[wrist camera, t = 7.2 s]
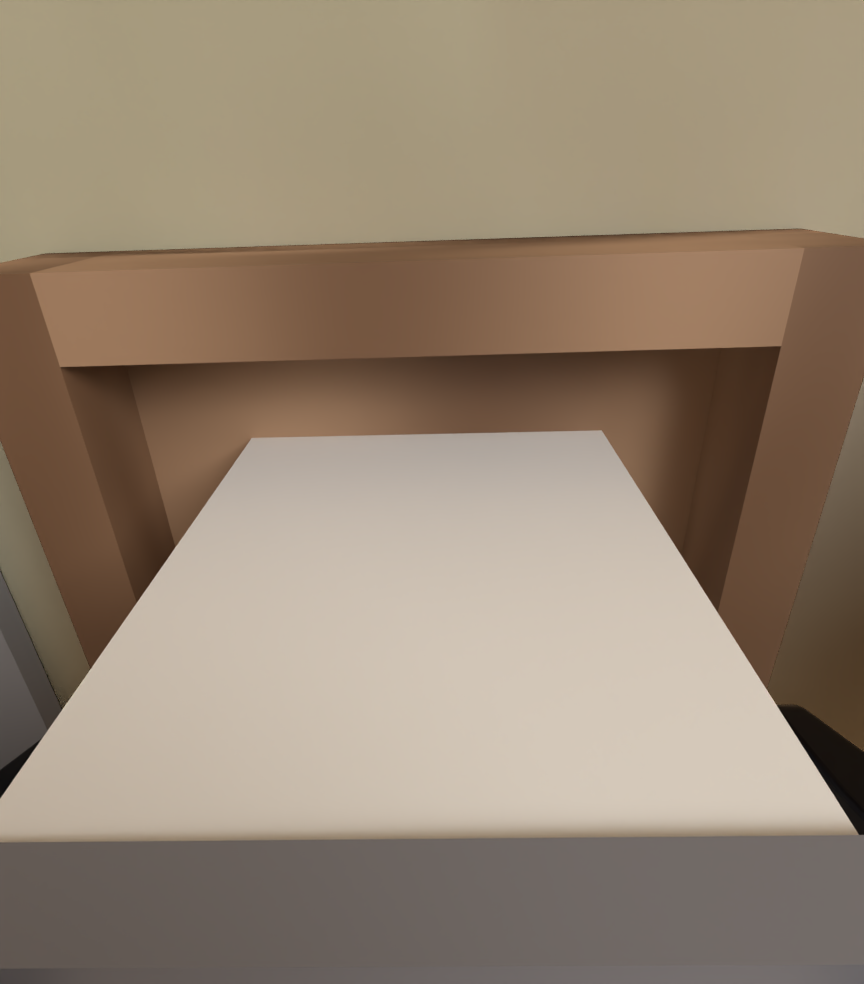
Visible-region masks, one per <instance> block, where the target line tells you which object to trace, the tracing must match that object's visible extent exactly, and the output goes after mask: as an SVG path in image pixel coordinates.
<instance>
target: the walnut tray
mask: <svg viewBox="0 0 864 984" xmlns="http://www.w3.org/2000/svg"><path fill="white" fill-rule="evenodd" d="M863 378H864V238H857V237H851V236H844V235H838V234H831V233H825V232H819V231H812V230H806V229H773V230H743V231H713V232H682V233H652V234H622V235H592V236H562V237H532V238H501V239H471V240H441V241H411V242H381V243H351V244H321V245H290V246H260V247H230V248H200V249H170V250H140V251H109V252H79V253H49V254H41V255H36V256H31V257H26V258H22V259H17V260H12V261H7V262H2V263H0V441H1V443H2V446H3V448H4V451H5V453H6V456H7V458H8V461H9V463H10V466H11V469H12V471H13V474H14V476H15V479H16V481H17V484H18V486H19V489H20V491H21V494H22V496H23V499H24V501H25V504H26V507H27V509H28V512H29V514H30V517H31V519H32V522H33V524H34V527H35V529H36V532H37V534H38V537H39V539H40V542H41V545H42V547H43V550H44V552H45V555H46V557H47V560H48V562H49V565H50V567H51V570H52V572H53V575H54V578H55V580H56V583H57V585H58V588H59V590H60V593H61V595H62V598H63V600H64V603H65V605H66V608H67V610H68V613H69V616H70V618H71V621H72V623H73V626H74V628H75V631H76V633H77V636H78V638H79V641H80V643H81V646H82V649H83V651H84V654H85V656H86V659H87V661H88V664H89V666H90V669H91V668H92V666H93V665H94V664H95V662H96V661H97V659H98V658H99V656H100V655H101V654H102V652H103V651H104V649H105V648H106V646H107V645H108V644H109V642H110V641H111V639H112V638H113V636H114V635H115V633H116V632H117V631H118V629H119V628H120V626H121V625H122V623H123V622H124V621H125V619H126V618H127V616H128V615H129V613H130V612H131V611H132V609H133V608H134V606H135V605H136V603H137V602H138V600H139V599H140V598H141V596H142V595H143V593H144V592H145V590H146V589H147V588H148V586H149V585H150V583H151V582H152V580H153V579H154V578H155V576H156V575H157V573H158V572H159V570H160V569H161V568H162V566H163V565H164V563H165V562H166V560H167V559H168V557H169V556H170V555H171V553H172V552H173V550H174V549H175V547H176V546H177V545H178V543H179V542H180V540H181V539H182V537H183V536H184V535H185V533H186V532H187V530H188V529H189V527H190V526H191V525H192V523H193V522H194V520H195V519H196V517H197V516H198V514H199V513H200V512H201V510H202V509H203V507H204V506H205V504H206V503H207V502H208V500H209V499H210V497H211V496H212V494H213V493H214V492H215V490H216V489H217V487H218V486H219V484H220V483H221V481H222V480H223V479H224V477H225V476H226V474H227V473H228V471H229V470H230V469H231V467H232V466H233V464H234V463H235V461H236V460H237V459H238V457H239V456H240V454H241V453H242V451H243V450H244V449H245V447H246V446H247V444H248V443H249V441H250V440H251V438H271V437H318V436H365V435H412V434H458V433H505V432H552V431H598V430H602V432H603V433H604V435H605V436H606V438H607V440H608V441H609V443H610V444H611V446H612V447H613V449H614V451H615V452H616V454H617V455H618V457H619V458H620V460H621V462H622V463H623V465H624V466H625V468H626V469H627V471H628V473H629V474H630V476H631V477H632V479H633V480H634V482H635V484H636V485H637V487H638V488H639V490H640V491H641V493H642V495H643V496H644V498H645V499H646V501H647V502H648V504H649V506H650V507H651V509H652V510H653V512H654V513H655V515H656V517H657V518H658V520H659V521H660V523H661V524H662V526H663V528H664V529H665V531H666V532H667V534H668V535H669V537H670V539H671V540H672V542H673V543H674V545H675V546H676V548H677V550H678V551H679V553H680V554H681V556H682V557H683V559H684V561H685V562H686V564H687V565H688V567H689V568H690V570H691V572H692V573H693V575H694V576H695V578H696V579H697V581H698V583H699V584H700V586H701V587H702V589H703V590H704V592H705V594H706V595H707V597H708V598H709V600H710V601H711V603H712V605H713V606H714V608H715V609H716V611H717V612H718V614H719V616H720V617H721V619H722V620H723V622H724V623H725V625H726V627H727V628H728V630H729V631H730V633H731V634H732V636H733V638H734V639H735V641H736V642H737V644H738V645H739V647H740V649H741V650H742V652H743V653H744V655H745V656H746V658H747V660H748V661H749V663H750V664H751V666H752V667H753V669H754V671H755V672H756V674H757V675H758V677H759V678H760V680H761V682H762V683H763V685H764V686H765V688H766V690H767V687H768V684H769V681H770V678H771V674H772V671H773V668H774V665H775V661H776V658H777V655H778V652H779V649H780V645H781V642H782V639H783V636H784V632H785V629H786V626H787V623H788V620H789V616H790V613H791V610H792V607H793V603H794V600H795V597H796V594H797V590H798V587H799V584H800V581H801V578H802V574H803V571H804V568H805V565H806V561H807V558H808V555H809V552H810V549H811V545H812V542H813V539H814V536H815V532H816V529H817V526H818V523H819V519H820V516H821V513H822V510H823V507H824V503H825V500H826V497H827V494H828V490H829V487H830V484H831V481H832V478H833V474H834V471H835V468H836V465H837V461H838V458H839V455H840V452H841V449H842V445H843V442H844V439H845V436H846V432H847V429H848V426H849V423H850V419H851V416H852V413H853V410H854V407H855V403H856V400H857V397H858V394H859V390H860V387H861V384H862V381H863Z"/></svg>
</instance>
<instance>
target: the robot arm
mask: <svg viewBox="0 0 864 984" xmlns="http://www.w3.org/2000/svg"><path fill="white" fill-rule="evenodd" d="M777 707H778V708H779V710H780V712H781V713H782V715H783V716H784V718H785V719H786V721H787V723H788V724H789V726H790V727H791V729H792V730H793V732H794V734H795V735H796V737H797V738H798V740H799V741H800V743H801V745H802V746H803V748H804V749H805V751H806V752H807V754H808V756H809V757H810V759H811V760H812V762H813V763H814V765H815V767H816V768H817V770H818V771H819V773H820V774H821V776H822V778H823V779H824V781H825V782H826V784H827V785H828V787H829V789H830V790H831V792H832V793H833V795H834V796H835V798H836V800H837V801H838V803H839V804H840V806H841V807H842V809H843V811H844V812H845V814H846V815H847V817H848V818H849V820H850V822H851V823H852V825H853V826H854V828H855V829H856V831H857V833H858V834H859V835H864V752H863V751H862V750H860V749H859V748H858V747H856V746H855V745H854V744H852V743H851V742H850V741H848V740H847V739H845V738H844V737H843V736H841V735H840V734H839V733H837V732H836V731H835V730H833V729H832V728H830V727H829V726H828V725H826V724H825V723H824V722H822V721H821V720H819V719H818V718H817V717H815V716H814V715H813V714H811V713H810V712H809V711H807V710H806V709H804V708H802V707H800V706H798V705H777ZM41 740H42V738H41V739H40V740H39V741H37V742H36V743H35V744H33V745H32V746H31V747H29V748H28V749H27V750H25V751H24V752H23V753H21V754H20V755H19V756H17V757H16V758H15V759H13V760H12V761H11V762H9V763H8V764H7V765H5V766H4V767H3V768H1V769H0V798H1V797H2V795H3V794H4V793H5V791H6V790H7V788H8V787H9V785H10V784H11V783H12V781H13V780H14V778H15V777H16V775H17V774H18V773H19V771H20V770H21V768H22V767H23V765H24V764H25V763H26V761H27V760H28V758H29V757H30V755H31V754H32V752H33V751H34V750H35V748H36V747H37V745H38V744H39V742H40V741H41Z"/></svg>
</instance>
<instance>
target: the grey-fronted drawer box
mask: <svg viewBox="0 0 864 984" xmlns="http://www.w3.org/2000/svg"><path fill="white" fill-rule="evenodd" d="M0 984H864V835H859V834H858V833H857V831H856V829H855V828H854V826H853V825H852V823H851V822H850V820H849V818H848V817H847V815H846V814H845V812H844V811H843V809H842V807H841V806H840V804H839V803H838V801H837V800H836V798H835V796H834V795H833V793H832V792H831V790H830V789H829V787H828V785H827V784H826V782H825V781H824V779H823V778H822V776H821V774H820V773H819V771H818V770H817V768H816V767H815V765H814V763H813V762H812V760H811V759H810V757H809V756H808V754H807V752H806V751H805V749H804V748H803V746H802V745H801V743H800V741H799V740H798V738H797V737H796V735H795V734H794V732H793V730H792V729H791V727H790V726H789V724H788V723H787V721H786V719H785V718H784V716H783V715H782V713H781V712H780V710H779V708H778V707H777V705H776V704H775V702H774V701H773V699H772V697H771V696H770V694H769V693H768V691H767V690H766V688H765V686H764V685H763V683H762V682H761V680H760V678H759V677H758V675H757V674H756V672H755V671H754V669H753V667H752V666H751V664H750V663H749V661H748V660H747V658H746V656H745V655H744V653H743V652H742V650H741V649H740V647H739V645H738V644H737V642H736V641H735V639H734V638H733V636H732V634H731V633H730V631H729V630H728V628H727V627H726V625H725V623H724V622H723V620H722V619H721V617H720V616H719V614H718V612H717V611H716V609H715V608H714V606H713V605H712V603H711V601H710V600H709V598H708V597H707V595H706V594H705V592H704V590H703V589H702V587H701V586H700V584H699V583H698V581H697V579H696V578H695V576H694V575H693V573H692V572H691V570H690V568H689V567H688V565H687V564H686V562H685V561H684V559H683V557H682V556H681V554H680V553H679V551H678V550H677V548H676V546H675V545H674V543H673V542H672V540H671V539H670V537H669V535H668V534H667V532H666V531H665V529H664V528H663V526H662V524H661V523H660V521H659V520H658V518H657V517H656V515H655V513H654V512H653V510H652V509H651V507H650V506H649V504H648V502H647V501H646V499H645V498H644V496H643V495H642V493H641V491H640V490H639V488H638V487H637V485H636V484H635V482H634V480H633V479H632V477H631V476H630V474H629V473H628V471H627V469H626V468H625V466H624V465H623V463H622V462H621V460H620V458H619V457H618V455H617V454H616V452H615V451H614V449H613V447H612V446H611V444H610V443H609V441H608V440H607V438H606V436H605V435H604V433H603V432H602V430H598V431H552V432H505V433H458V434H412V435H365V436H318V437H271V438H251V440H250V441H249V443H248V444H247V446H246V447H245V449H244V450H243V451H242V453H241V454H240V456H239V457H238V459H237V460H236V461H235V463H234V464H233V466H232V467H231V469H230V470H229V471H228V473H227V474H226V476H225V477H224V479H223V480H222V481H221V483H220V484H219V486H218V487H217V489H216V490H215V492H214V493H213V494H212V496H211V497H210V499H209V500H208V502H207V503H206V504H205V506H204V507H203V509H202V510H201V512H200V513H199V514H198V516H197V517H196V519H195V520H194V522H193V523H192V525H191V526H190V527H189V529H188V530H187V532H186V533H185V535H184V536H183V537H182V539H181V540H180V542H179V543H178V545H177V546H176V547H175V549H174V550H173V552H172V553H171V555H170V556H169V557H168V559H167V560H166V562H165V563H164V565H163V566H162V568H161V569H160V570H159V572H158V573H157V575H156V576H155V578H154V579H153V580H152V582H151V583H150V585H149V586H148V588H147V589H146V590H145V592H144V593H143V595H142V596H141V598H140V599H139V600H138V602H137V603H136V605H135V606H134V608H133V609H132V611H131V612H130V613H129V615H128V616H127V618H126V619H125V621H124V622H123V623H122V625H121V626H120V628H119V629H118V631H117V632H116V633H115V635H114V636H113V638H112V639H111V641H110V642H109V644H108V645H107V646H106V648H105V649H104V651H103V652H102V654H101V655H100V656H99V658H98V659H97V661H96V662H95V664H94V665H93V666H92V668H91V669H90V671H89V672H88V674H87V675H86V676H85V678H84V679H83V681H82V682H81V684H80V685H79V687H78V688H77V689H76V691H75V692H74V694H73V695H72V697H71V698H70V699H69V701H68V702H67V704H66V705H65V707H64V708H63V709H62V711H61V712H60V714H59V715H58V717H57V718H56V719H55V721H54V722H53V724H52V725H51V727H50V728H49V730H48V731H47V732H46V734H45V735H44V737H43V738H42V740H41V741H40V742H39V744H38V745H37V747H36V748H35V750H34V751H33V752H32V754H31V755H30V757H29V758H28V760H27V761H26V763H25V764H24V765H23V767H22V768H21V770H20V771H19V773H18V774H17V775H16V777H15V778H14V780H13V781H12V783H11V784H10V785H9V787H8V788H7V790H6V791H5V793H4V794H3V795H2V797H1V798H0Z"/></svg>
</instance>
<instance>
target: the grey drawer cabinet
mask: <svg viewBox="0 0 864 984" xmlns="http://www.w3.org/2000/svg"><path fill="white" fill-rule="evenodd" d="M61 711H62V709H61V707H60V705H59V702H58V700H57V698H56V696H55V693H54V691H53V689H52V687H51V684H50V682H49V680H48V678H47V675H46V673H45V671H44V669H43V666H42V664H41V662H40V660H39V657H38V655H37V653H36V651H35V648H34V646H33V644H32V641H31V639H30V637H29V635H28V632H27V630H26V628H25V626H24V623H23V621H22V619H21V617H20V614H19V612H18V610H17V608H16V605H15V603H14V601H13V599H12V596H11V594H10V592H9V590H8V587H7V585H6V583H5V581H4V578H3V576H2V574H1V571H0V769H1V768H3V767H4V766H5V765H7V764H8V763H9V762H11V761H12V760H13V759H15V758H16V757H17V756H19V755H20V754H21V753H23V752H24V751H25V750H27V749H28V748H29V747H31V746H32V745H33V744H35V743H36V742H37V741H39V740H40V739H41V738H43V737H44V735H45V734H46V732H47V731H48V730H49V728H50V727H51V725H52V724H53V722H54V721H55V719H56V718H57V717H58V715H59V714H60V712H61Z"/></svg>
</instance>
